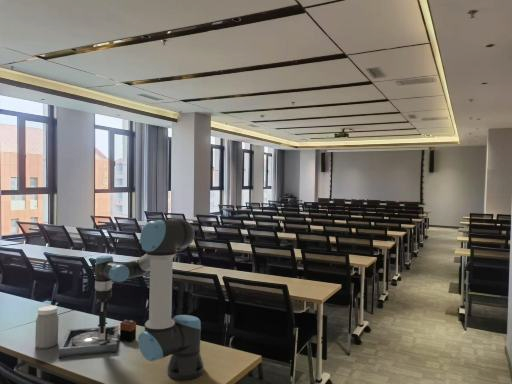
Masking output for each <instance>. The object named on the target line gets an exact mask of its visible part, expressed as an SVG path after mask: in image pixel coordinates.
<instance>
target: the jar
mask: <svg viewBox="0 0 512 384" xmlns="http://www.w3.org/2000/svg"><path fill="white" fill-rule="evenodd" d="M59 317H60V316H59V315H58V306H57V305H44V306H40V307H39V308H38V309H37V317H36V318H35V338H34V340H35V343H34V344H35V345H34V346H35V347H36V348H37V349H40V350H45V349H51V348H54V347H55V346H57V344H58V343H59Z"/></svg>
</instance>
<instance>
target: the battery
mask: <svg viewBox="0 0 512 384" xmlns="http://www.w3.org/2000/svg"><path fill="white" fill-rule="evenodd" d="M119 330H120V331H119V341H122V342H127V343H132V342H134V341H136V340H137V321H134V320H133V319H130V320H128V319H123V321H121V322H120V326H119Z"/></svg>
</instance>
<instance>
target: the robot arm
mask: <svg viewBox="0 0 512 384" xmlns="http://www.w3.org/2000/svg"><path fill="white" fill-rule="evenodd" d="M194 239H195V229H194V227H193V225H192V223H190V222H188V221H187V220H185V219H181V218H177V219H157V220H150V221H148V222H147V223H145V225H144V226H143V228H142V229H141V233H140V237H139V241H140V245H141V247H142V248H141V249H143V250H144V251H145V252H146V253H144V255H143V256H141V257H140V258H138V259H137V260H131V261H125V262H124V261H123V262H114V258H113V256H112V255H99V256H97V257H96V259H95V269H94V270H95V273H94V274H95V277H94V279H95V280H94V289H95V290H94V299H96V300H98V304H97V306H98V324H97V328H98V327H99V340H105V328H106V327H107V326H106V325H108V322H107V309H108V304H109V300H108V299H111V298H112V297H113V289H112V288H113V284H114V283H115V282H117V283H118V282H119V283H122V282H125V281H126V280H127V279H131V278H136V277H137V278H138V277H142V276H143V277H145V276H148V275H149V300H148V301H149V302H148V303H149V307H148V308H149V309H148V310H149V312H148V320H147V321H146V322H145V323H144V330H143V331H142V332H141V331H140V333H139V334H138V337H137V345H138V349H139V351H140V353H141V355H142V356H143V358H144V359H145V360H148V361H149V362H154V361H158V360H162V359H163V358H166V357H168V356H170V359H169V361H168V365H167V370H166V373H167V376H168V377H170V378H171V379H173V380H178V381H190V380H194V379H197V378H199V377H201V376H202V375H203V374H204V368H205V367H204V361H203V359H202V355H201V335H202V334H201V333H202V327H201V319H200V318H198V317H197V316H194V315H191V314H190V315H189V314H180V315H174V317H173V318H172V306H173V305H172V303H173V302H172V301H173V300H172V299H173V297H172V296H173V259H174V257H176V256H177V254H178V253H177V252H179V251H180V252H181V251H183V250H185V249H186V248H188V247H189V246H190V245H191V244H192V242H193V241H194Z"/></svg>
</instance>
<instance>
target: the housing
mask: <svg viewBox="0 0 512 384" xmlns="http://www.w3.org/2000/svg"><path fill="white" fill-rule="evenodd" d="M106 328H108V334H109V335H110V341H109V343H107V344H97V345H85V346H74V347H72V339H73V338H74V337H75V336H77V335H79V334H82V333H87V332H97V331H98V332H99V327H98V326H97V327H88V328H87V327H86V328H74V329H72V328H71V329H67V331H66V334H65V336H64V337H63V340H62V342H61V344H60V346H59V348H58V359H62V358H75V357H81V356H82V357H83V356H93V355H94V356H95V355H104V354H105V355H106V354H116V352H117V345H118V341H120V338H119V330H120V328H119V325H115V326H114V325H113V326H106Z"/></svg>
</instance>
